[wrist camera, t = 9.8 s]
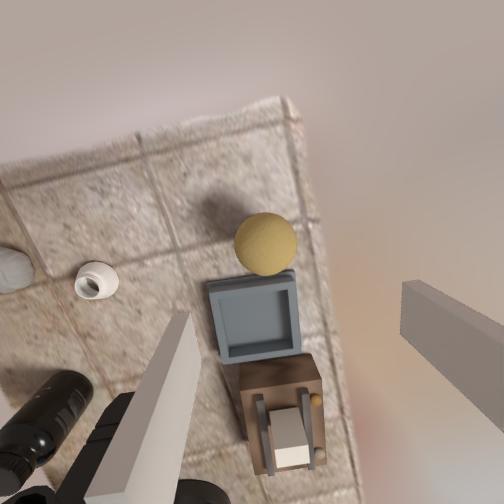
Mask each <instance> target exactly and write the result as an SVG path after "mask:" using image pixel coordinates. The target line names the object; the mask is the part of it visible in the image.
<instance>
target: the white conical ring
mask: <svg viewBox="0 0 504 504" xmlns="http://www.w3.org/2000/svg"><path fill="white" fill-rule="evenodd" d="M86 278H90V279H92V281H93V282H94V284H96V285H98V287H99V291H96V290H94V289H92V288H91V287H90V286H89V285H88V284H87V281H86ZM118 284H119V279H118V276H117V274H116V272H115V271H114V270H113V269H112V268H111V267H110V266H108V265H106V264H105V263H101V262H91V263H87V264H86V265H84V266H83V267H81V268H80V270H79V272H78V274H77V277H76V282H75V290H76V292H77V294H78V295H79V296H81V297H82V298H85V299H102V298H108V297H109V296H111V295H112V294H114V293H115V291H116V290H117V288H118Z"/></svg>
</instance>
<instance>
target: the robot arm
mask: <svg viewBox="0 0 504 504" xmlns="http://www.w3.org/2000/svg"><path fill="white" fill-rule="evenodd" d="M400 323H401V324H400V335H401V336H402V337H403V338H404V339H405V340H407V341H408V342H409V343H410V344H411V345H412V346H413V347H414V348H415V349H416V350H417V351H418V352H419V353H420V354H421V355H422V356H423V357H425V359H426V360H428V361H429V362H430V363H431V364H432V365H433V366H434V367H435V368H436V369H437V370H438V371H439V372H440V373H441V374H442V375H443V376H445V378H446V379H448V380H449V381H450V382H451V383H452V384H453V385H454V386H455V387H456V388H457V389H458V390H459V391H460V392H461V393H462V394H463V395H464V396H465V397H467V399H469V400H470V401H471V402H472V403H473V404H474V405H475V406H476V407H477V408H478V409H479V410H480V411H481V412H482V413H483V414H485V416H486V417H488V418H489V419H490V420H491V421H492V422H493V423H494V424H495V425H496V426H497V427H498V428H499V429H500V430H501V431H502V432H503V433H504V326H503V325H501V324H499V323H497V322H495V321H494V320H492V319H490V318H488V317H487V316H485V315H483V314H481V313H479V312H477V311H476V310H474V309H472V308H470V307H468V306H466V305H465V304H463V303H461V302H459V301H457V300H455V299H454V298H452V297H450V296H448V295H446V294H444V293H443V292H441V291H439V290H437V289H435V288H433V287H432V286H430V285H428V284H426V283H424V282H422V281H421V280H413V281H406V282H402V301H401V322H400ZM201 364H202V362H201V357H200V353H199V348H198V344H197V339H196V335H195V331H194V326H193V322H192V317H191V313H190V312H187V313H179V314H173V316H172V318H171V320H170V322H169V324H168V326H167V328H166V330H165V332H164V334H163V336H162V338H161V340H160V343H159V345H158V347H157V349H156V351H155V353H154V355H153V357H152V359H151V361H150V363H149V365H148V367H147V369H146V371H145V373H144V375H143V377H142V379H141V381H140V383H139V386H138V388H137V390H136V391H135V392H128V393H121V394H119V395H118V396H117V397H116V398H115V399H114V400H113V401H112V402H111V403H110V404H109V406H108V407H107V408H106V409H105V410H104V412H103V414H102V415H101V417H100V419H99V420H98V422H97V424H96V426H95V429H94V430H93V431H92V432H91V434H90V436H89V438H88V439H87V441H86V445H84V446H83V448H82V450H81V451H80V453H79V455H78V456H77V458H76V460H75V462H74V463H73V465H72V467H71V468H70V470H69V472H68V474H67V475H66V477H65V479H64V480H63V482H62V484H61V486H60V487H59V489H58V491H57V492H56V494H55V492H54V491H53V490H52V489H51V488H49V487H48V486H33V487H31V488H28V489H26V490H23V491H21V492H18V493H17V494H15V495H14V496H12V497H11V498H9V499H8V500H7V501H5V502H3V503H2V504H231V502H230V500H229V498H228V496H227V495H226V493H225V492H224V491H222V490H221V489H220V488H218V487H216V486H214V485H212V484H210V483H206V482H202V481H180V482H178V478H179V473H180V468H181V463H182V458H183V453H184V448H185V444H186V439H187V434H188V429H189V424H190V419H191V414H192V409H193V404H194V399H195V394H196V389H197V384H198V379H199V374H200V369H201Z"/></svg>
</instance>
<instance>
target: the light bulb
mask: <svg viewBox="0 0 504 504" xmlns="http://www.w3.org/2000/svg"><path fill="white" fill-rule="evenodd" d="M234 248H235V253H236V256H237V258H238V260H239V261H240V263H241V264H242V265H243V266H244V267H245V268H246V269H248V270H249V271H251V272H252V273H255V274H257V275H261V276H270V275H274V274H277V273H279V272H281V271H282V270H284V269H285V268H286V267H287V266H288V265H289V264H290V263H291V262H292V260H293V259H294V257H295V255H296V252H297V237H296V234H295V232H294V230H293V228H292V226H291V225H290V224H289V222H288V221H286V220H285V219H284V218H283V217H281V216H279V215H277V214H273V213H267V212H265V213H258V214H255V215H252V216H251V217H249V218H247V219H246V220H245V221H244V222H243V223H242V224H241V225H240V227H239V228H238V230H237V232H236V235H235V239H234Z"/></svg>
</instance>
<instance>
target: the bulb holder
mask: <svg viewBox="0 0 504 504" xmlns="http://www.w3.org/2000/svg"><path fill="white" fill-rule="evenodd" d="M206 285H207V290H208V295H209V301H210V306H211V311H212V316H213V321H214V326H215V331H216V336H217V341H218V346H219V351H220V356H221V358H222V363H223V365H226V364H233V363H239V362H246V361H253V360H260V359H267V358H274V357H281V356H288V355H295V354H301V336H300V324H299V312H298V301H297V289H296V277H295V271H294V270H290V271H282V272H279V273H277V274H274V275H270V276H261V275H254V276H247V277H240V278H232V279H225V280H218V281H211V282H207V283H206Z"/></svg>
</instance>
